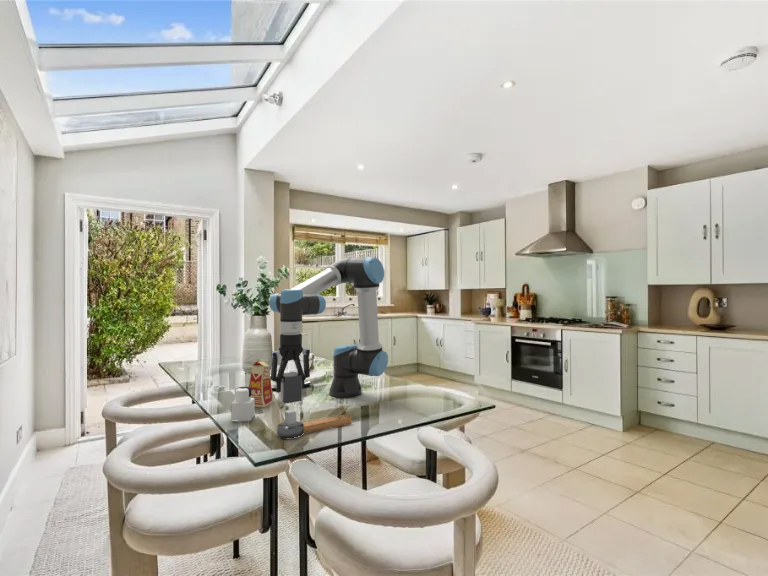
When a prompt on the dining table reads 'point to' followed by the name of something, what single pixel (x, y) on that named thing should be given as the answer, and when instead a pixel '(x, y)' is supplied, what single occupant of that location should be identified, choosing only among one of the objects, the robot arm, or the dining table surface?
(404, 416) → the dining table surface
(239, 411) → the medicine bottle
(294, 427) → the hammer
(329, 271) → the robot arm
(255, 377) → the milk carton
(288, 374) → the dark grey block
